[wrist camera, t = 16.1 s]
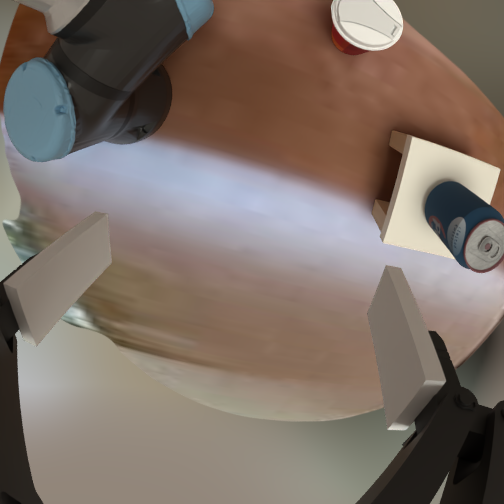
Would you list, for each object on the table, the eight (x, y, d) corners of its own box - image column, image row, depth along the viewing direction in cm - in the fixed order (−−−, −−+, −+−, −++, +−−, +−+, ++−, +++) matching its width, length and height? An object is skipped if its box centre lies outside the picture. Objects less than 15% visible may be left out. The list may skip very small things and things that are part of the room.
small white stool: (369, 214, 47) (382, 242, 39) (390, 127, 41) (412, 136, 32) (443, 232, 47) (467, 262, 38) (468, 153, 40) (500, 169, 31)
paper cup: (386, 33, 34) (418, 11, 22) (361, 72, 38) (385, 63, 26) (338, 4, 33) (352, -30, 21) (313, 43, 37) (317, 21, 25)
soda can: (411, 214, 36) (446, 261, 26) (438, 168, 33) (485, 200, 23) (449, 238, 37) (488, 288, 26) (475, 195, 33) (524, 234, 23)
